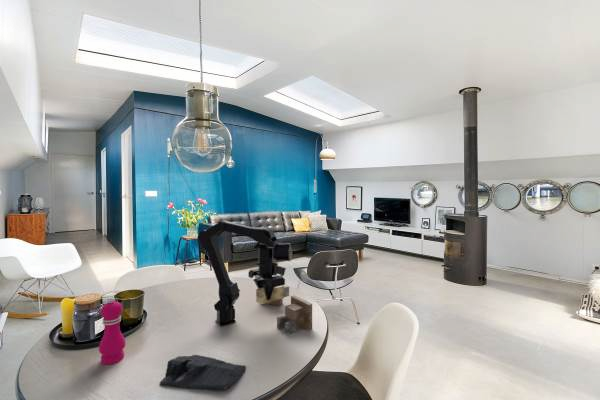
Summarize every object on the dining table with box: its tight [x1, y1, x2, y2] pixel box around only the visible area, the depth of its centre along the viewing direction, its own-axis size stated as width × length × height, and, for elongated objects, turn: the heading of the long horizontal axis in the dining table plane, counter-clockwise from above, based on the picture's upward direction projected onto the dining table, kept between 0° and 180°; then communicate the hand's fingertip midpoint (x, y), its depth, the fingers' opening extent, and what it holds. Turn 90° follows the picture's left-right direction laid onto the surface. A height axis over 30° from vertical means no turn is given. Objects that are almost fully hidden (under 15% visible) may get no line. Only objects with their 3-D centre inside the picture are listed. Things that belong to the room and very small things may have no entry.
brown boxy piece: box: [276, 295, 313, 335], centre depth 118 cm, size 10×12×10 cm
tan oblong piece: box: [255, 284, 290, 305], centre depth 121 cm, size 14×4×5 cm, turn 128°
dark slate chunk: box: [159, 354, 247, 391], centre depth 87 cm, size 15×22×5 cm
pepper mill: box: [98, 297, 126, 366], centre depth 95 cm, size 7×7×20 cm
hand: (266, 298), depth 119 cm, fingers closed on tan oblong piece, 3 cm apart
